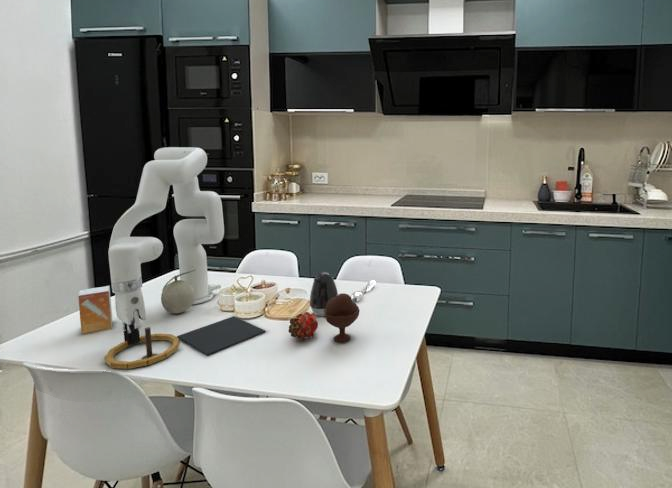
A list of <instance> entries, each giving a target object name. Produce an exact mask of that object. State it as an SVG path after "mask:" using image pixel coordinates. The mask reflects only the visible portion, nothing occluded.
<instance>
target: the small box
mask: <svg viewBox="0 0 672 488" xmlns="http://www.w3.org/2000/svg"><path fill="white" fill-rule="evenodd" d="M77 297H78V307H79V308H78V310H79V321H80V332H81V335H85V334H89V333H94V332H99V331H105V330H111V329H112V328H113V312H112V311H113V310H112V298H111V286H110V285H106V286H105V285H104V286H100V287H99V286H98V287H92V288H91V287H90V288H86V289H80V290H79V292H78V296H77Z"/></svg>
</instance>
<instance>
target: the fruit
mask: <svg viewBox="0 0 672 488" xmlns="http://www.w3.org/2000/svg"><path fill="white" fill-rule="evenodd" d="M193 271H195V270H193ZM193 271H189V272H186V273H182V274H180V273H179V274H177V275H175V276H173V277H172V278H170V279H169V280H168V281H167V282H166V283H165V285H164V286H163V288H162V290H161V291H162V292H161V293H160V294H161V295H160V302H161V305H162V307H163V308H164V309H163V310H165V311H166V312H168V313H171V314H174V315H175V314H181V313H184V312H187V311H189V309H190V308H191V307H192V304H193V301H194V296H195V294H194V289H193V287H192V286H191V284H189V283H188V282H187V281H183V280H180V279H178V278H180V276H181V275H184V274H187V273H190V272H193ZM173 280H174V281H173ZM193 305H194V304H193Z"/></svg>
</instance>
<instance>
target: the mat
mask: <svg viewBox="0 0 672 488" xmlns="http://www.w3.org/2000/svg"><path fill="white" fill-rule="evenodd" d="M265 333H267V331H266V330H265V329H263V328H262V327H261V328H260V327H258V326H257V325H254V324H253V323H249V322H248V321H246V320H243V319H241V318H239V317H237V316H235V315H233V316H230V317H227V318H225V319H222V320H219V321H216V322H213V323H210V324H208V325H204V326H202V327H199V328H197V329H194V330H191V331H187V332H184V333H182V334H179V335H176V337H177V338H179V341H181V342H183V343H184V344H187V345H189V346H190V347H191V348H193V349H195V350H197V351H198V352H200V353H202V354H203V355H205V356H211V355H214V354H215V353H218V352H221V351H224V350H226V349H228V348H231V347H233V346H236V345H238V344H240V343H243V342H246V341H248V340H251V339H252V338H255V337H258V336H260V335H263V334H265Z"/></svg>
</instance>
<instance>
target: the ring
mask: <svg viewBox="0 0 672 488" xmlns="http://www.w3.org/2000/svg"><path fill="white" fill-rule="evenodd" d="M155 340H156V341H168V342H170V343H172V344H171V346H170V347H168V348H167V349H166V350H164V351H163V352H160V353H157V354H158V355H155V356H152V357H150V358H147V359H142V358H141V359H136V360H130V361H127V360H126V361H125V360H117V359H115V355H116V354H118V353H119V352H121V351H123V350H124V349H126V348H128V347H131V346H134V345H137V344H139V343H143V342H144V343H146V340H145V335H140V342H139V343H136V344H133V345H130V346H129V345H128V344H127V341H125V340H124V341H123V342H120V343H119V344H116V345H114V347H112V348H110V349H109V350H108V351H107V353H106V355H105V357H104V361H105V363H106V365H107V366H109V367H110V368H112V369H123V370H128V369H135V368H140V367H147V366H150V365H152V364H155V363H159V362H160V361H162V360H165V359H166V358H168V357H170V356H171V355H172V354H174V353H175V352H177V351H178V350H179V345H180V339H179V338H177V335H174V334H171V333H159V332H158V333H151V341H155Z"/></svg>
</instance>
